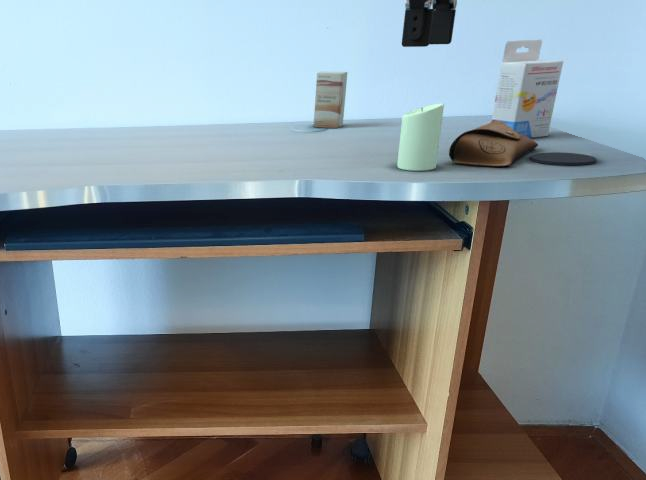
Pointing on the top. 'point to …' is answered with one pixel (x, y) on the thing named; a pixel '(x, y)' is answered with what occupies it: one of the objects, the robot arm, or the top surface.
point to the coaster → (563, 158)
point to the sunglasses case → (490, 146)
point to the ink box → (526, 89)
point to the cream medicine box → (330, 99)
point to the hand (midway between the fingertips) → (427, 45)
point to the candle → (420, 138)
